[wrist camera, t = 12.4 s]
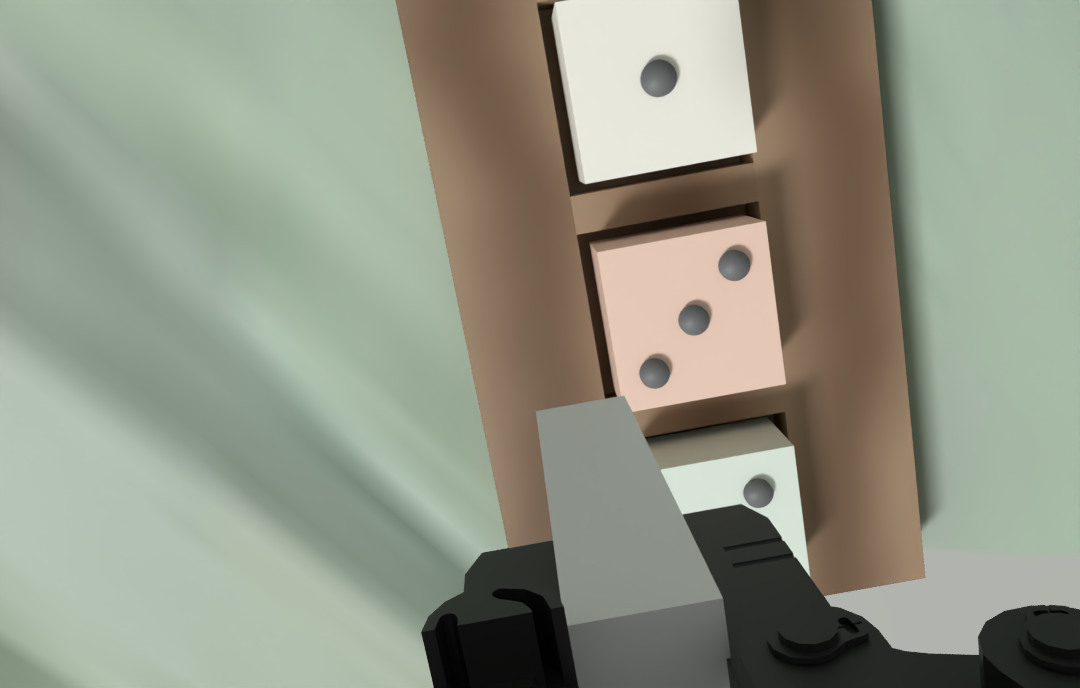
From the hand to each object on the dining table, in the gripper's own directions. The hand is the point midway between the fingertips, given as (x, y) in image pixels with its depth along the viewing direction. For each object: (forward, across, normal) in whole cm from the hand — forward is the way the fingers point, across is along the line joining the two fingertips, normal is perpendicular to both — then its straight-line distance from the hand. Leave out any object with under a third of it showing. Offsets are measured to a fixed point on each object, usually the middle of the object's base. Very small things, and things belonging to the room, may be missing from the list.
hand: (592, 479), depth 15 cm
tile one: (+15, +4, +6) cm, 17 cm away
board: (+16, +4, 0) cm, 16 cm away
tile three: (+15, +4, 0) cm, 15 cm away
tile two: (+14, +4, -7) cm, 17 cm away
